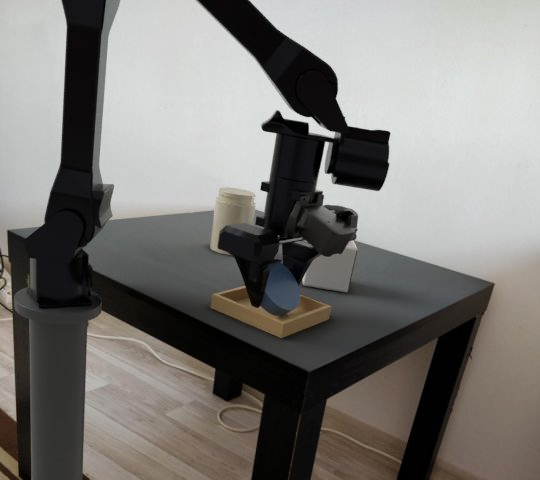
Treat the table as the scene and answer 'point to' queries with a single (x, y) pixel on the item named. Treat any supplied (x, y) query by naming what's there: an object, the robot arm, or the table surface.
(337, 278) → the medicine bottle
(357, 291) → the table surface
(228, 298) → the tray
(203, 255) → the table surface
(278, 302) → the jar lid
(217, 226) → the jar
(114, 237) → the table surface
